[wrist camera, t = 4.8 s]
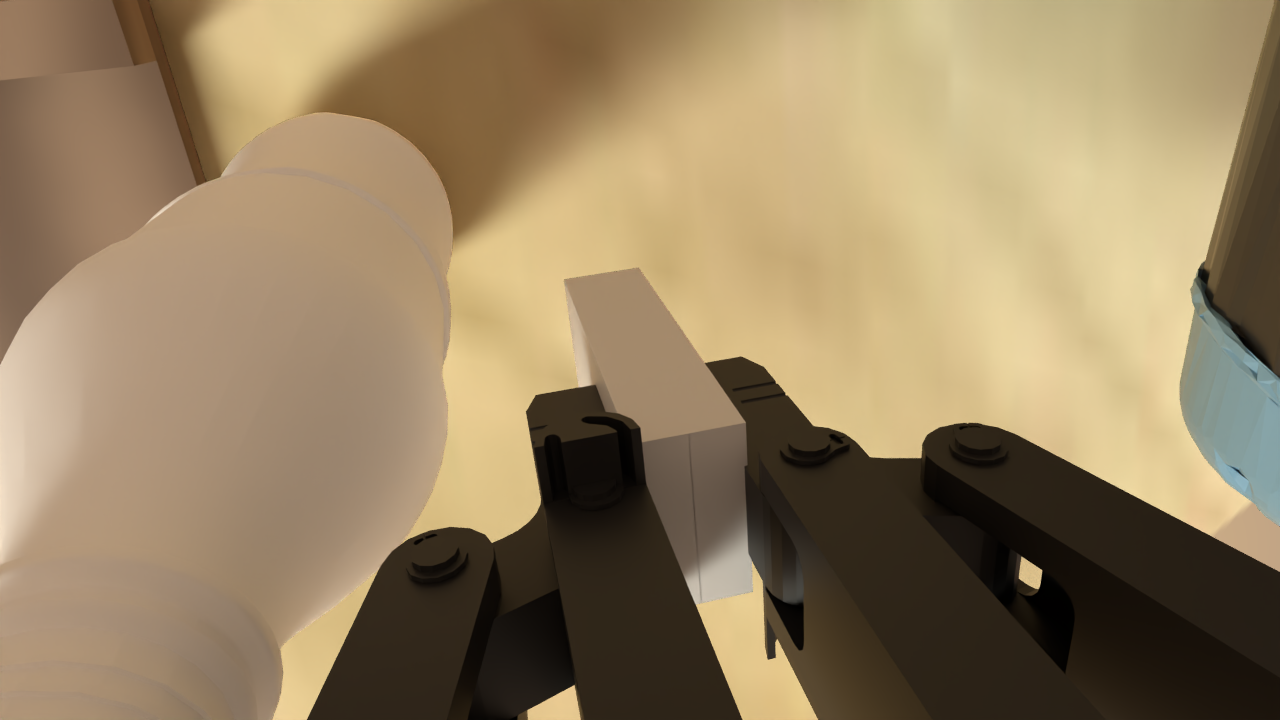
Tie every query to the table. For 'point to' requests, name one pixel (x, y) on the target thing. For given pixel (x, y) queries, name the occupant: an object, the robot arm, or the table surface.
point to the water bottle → (222, 428)
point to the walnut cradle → (81, 139)
